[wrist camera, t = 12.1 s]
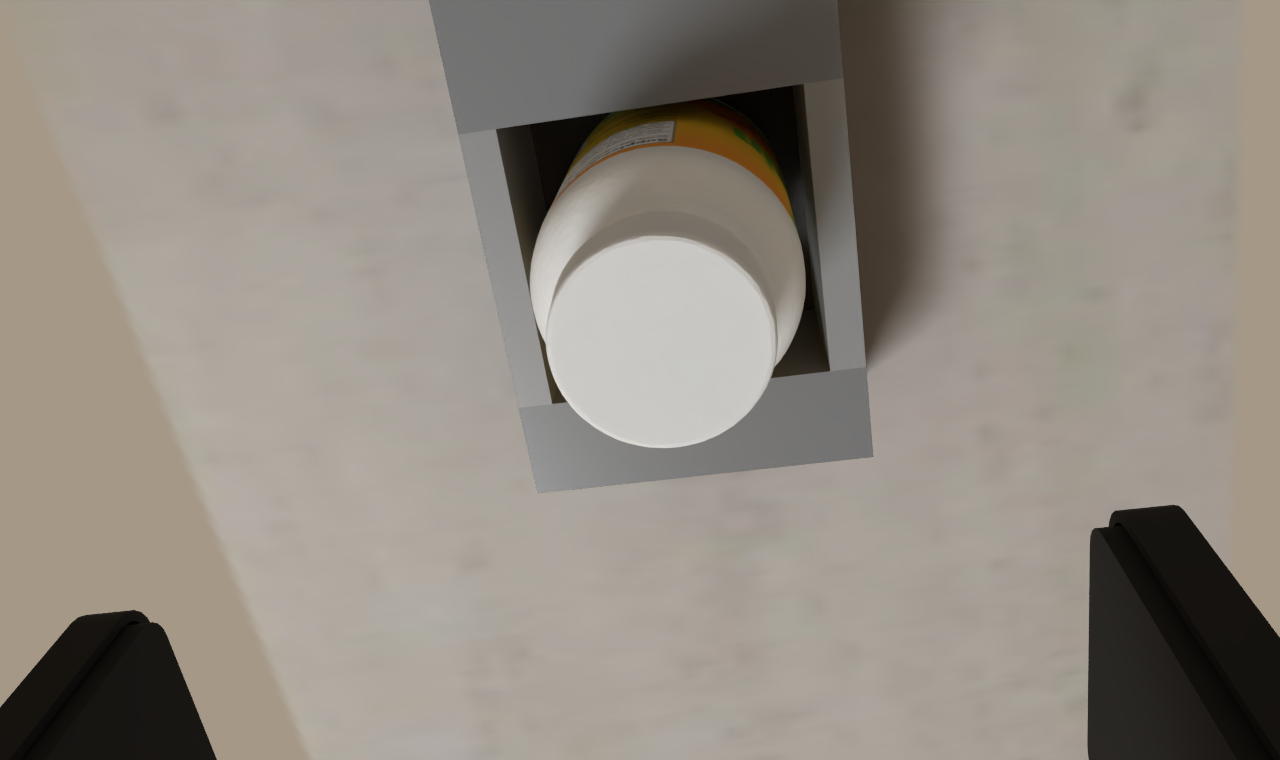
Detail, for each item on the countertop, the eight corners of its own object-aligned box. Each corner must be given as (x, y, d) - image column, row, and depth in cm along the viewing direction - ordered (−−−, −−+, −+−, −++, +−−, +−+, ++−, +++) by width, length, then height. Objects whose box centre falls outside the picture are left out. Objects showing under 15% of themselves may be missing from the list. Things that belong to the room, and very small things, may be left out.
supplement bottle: (818, 249, 28) (869, 420, 19) (625, 330, 29) (590, 526, 20) (732, 49, 26) (746, 135, 17) (531, 144, 27) (446, 271, 18)
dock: (442, -140, 25) (397, -143, 21) (802, -203, 24) (820, -218, 20) (557, 419, 30) (537, 493, 27) (852, 385, 29) (873, 456, 26)
